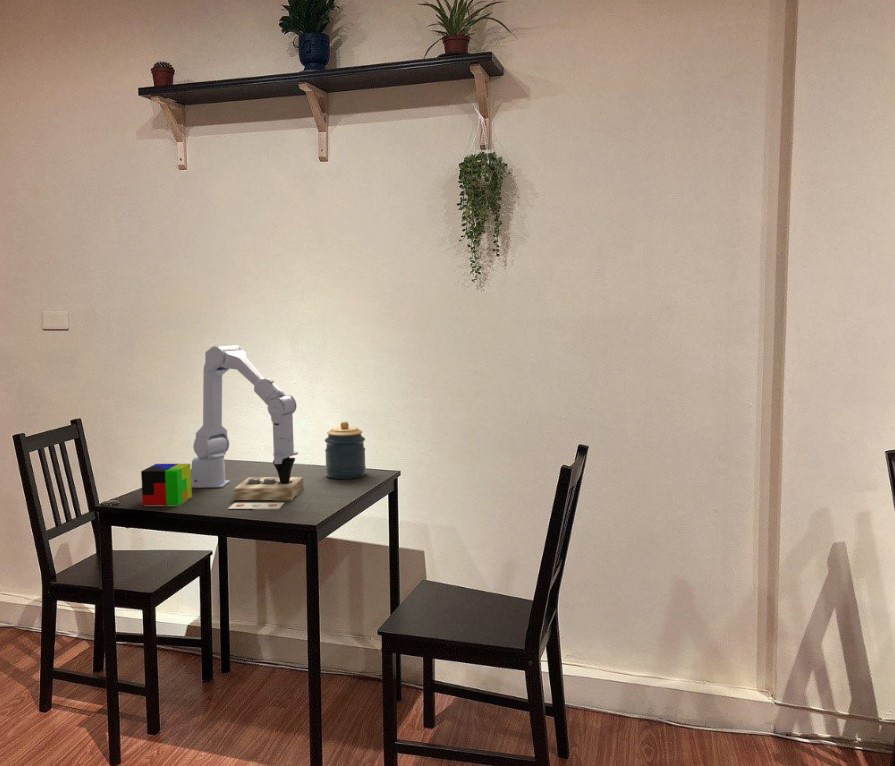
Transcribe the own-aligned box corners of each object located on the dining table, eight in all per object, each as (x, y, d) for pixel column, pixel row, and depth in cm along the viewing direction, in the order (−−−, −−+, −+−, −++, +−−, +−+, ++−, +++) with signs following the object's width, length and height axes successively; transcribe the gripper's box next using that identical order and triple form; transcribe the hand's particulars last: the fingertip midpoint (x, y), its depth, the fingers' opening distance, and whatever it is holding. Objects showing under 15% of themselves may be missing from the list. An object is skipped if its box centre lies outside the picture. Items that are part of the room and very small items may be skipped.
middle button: (262, 487, 220) (262, 480, 219) (265, 484, 223) (265, 478, 223) (273, 487, 220) (273, 480, 219) (276, 484, 223) (276, 478, 223)
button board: (234, 500, 215) (233, 488, 214) (249, 488, 229) (248, 477, 228) (292, 500, 214) (291, 488, 214) (303, 488, 228) (303, 477, 228)
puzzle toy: (157, 497, 220) (156, 463, 219) (191, 497, 219) (190, 463, 218) (142, 506, 210) (141, 471, 209) (178, 506, 209) (176, 471, 208)
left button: (247, 487, 220) (247, 480, 220) (250, 484, 223) (250, 478, 223) (258, 487, 220) (258, 480, 220) (261, 484, 223) (261, 478, 223)
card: (227, 509, 205) (227, 508, 205) (234, 503, 211) (234, 502, 211) (279, 509, 205) (278, 508, 205) (284, 503, 211) (284, 502, 211)
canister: (359, 480, 238) (358, 424, 236) (320, 479, 240) (318, 424, 239) (370, 471, 251) (369, 418, 249) (333, 470, 253) (331, 418, 251)
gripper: (290, 441, 212) (292, 489, 214) (302, 433, 227) (304, 477, 228) (265, 441, 212) (267, 489, 214) (279, 433, 227) (280, 477, 228)
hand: (284, 483), depth 221 cm, fingers closed, pressing on right button
